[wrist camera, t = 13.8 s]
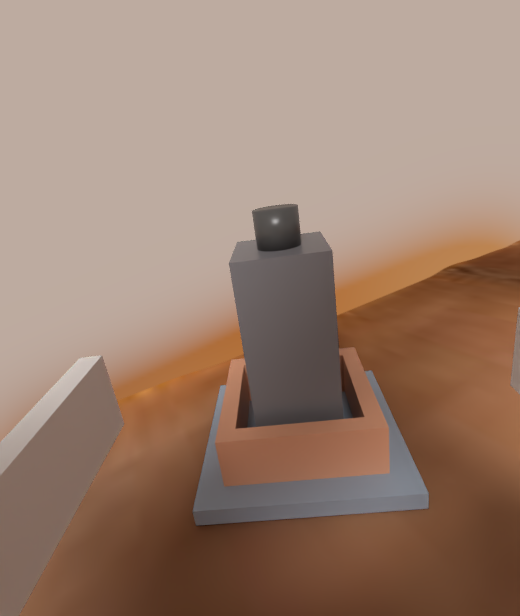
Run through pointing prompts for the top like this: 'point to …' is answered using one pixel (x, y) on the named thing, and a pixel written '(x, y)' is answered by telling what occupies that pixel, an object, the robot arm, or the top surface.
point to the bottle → (288, 320)
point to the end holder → (306, 458)
